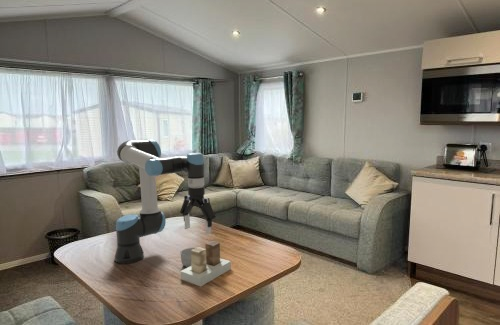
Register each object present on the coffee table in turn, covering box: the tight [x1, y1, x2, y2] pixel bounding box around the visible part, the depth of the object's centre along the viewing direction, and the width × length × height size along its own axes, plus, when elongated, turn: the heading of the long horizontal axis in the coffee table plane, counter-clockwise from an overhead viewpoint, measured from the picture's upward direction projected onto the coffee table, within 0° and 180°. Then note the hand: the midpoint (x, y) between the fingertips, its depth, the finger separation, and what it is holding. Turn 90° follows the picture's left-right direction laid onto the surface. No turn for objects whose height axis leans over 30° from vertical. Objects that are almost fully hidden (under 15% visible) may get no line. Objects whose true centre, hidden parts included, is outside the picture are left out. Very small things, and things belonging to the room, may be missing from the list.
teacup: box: [179, 247, 196, 268], centre depth 175 cm, size 14×11×8 cm
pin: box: [191, 246, 207, 274], centre depth 160 cm, size 5×5×13 cm
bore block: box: [179, 257, 232, 287], centre depth 164 cm, size 13×22×4 cm, turn 145°
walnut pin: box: [204, 240, 221, 266], centre depth 168 cm, size 5×5×13 cm
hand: (197, 231), depth 158 cm, fingers open, 13 cm apart
